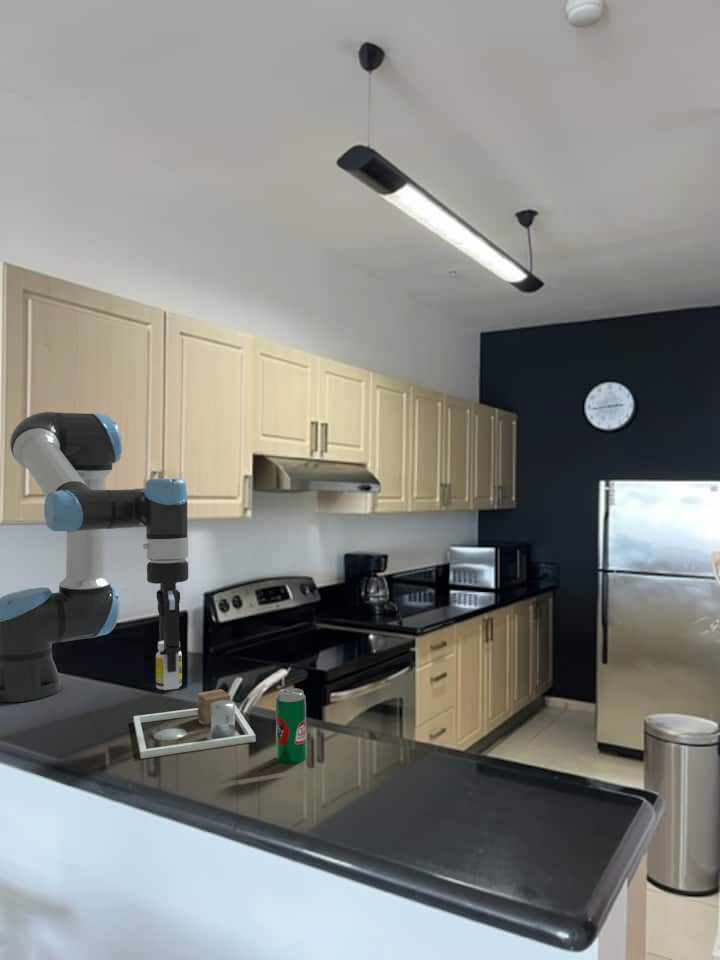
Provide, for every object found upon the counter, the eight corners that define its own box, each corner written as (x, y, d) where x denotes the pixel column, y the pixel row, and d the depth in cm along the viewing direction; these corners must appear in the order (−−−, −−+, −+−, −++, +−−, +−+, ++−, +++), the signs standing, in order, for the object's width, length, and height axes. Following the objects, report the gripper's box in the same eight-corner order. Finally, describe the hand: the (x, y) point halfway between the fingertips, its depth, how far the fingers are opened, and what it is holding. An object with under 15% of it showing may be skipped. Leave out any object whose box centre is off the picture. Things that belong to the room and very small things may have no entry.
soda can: (301, 768, 119) (300, 696, 118) (272, 766, 120) (271, 695, 120) (310, 757, 123) (309, 688, 123) (282, 755, 125) (281, 686, 124)
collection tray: (133, 725, 141) (133, 716, 141) (234, 712, 148) (234, 703, 148) (140, 762, 122) (140, 751, 122) (255, 745, 129) (255, 735, 129)
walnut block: (197, 718, 143) (197, 693, 142) (221, 713, 145) (221, 689, 145) (206, 725, 138) (205, 699, 138) (230, 720, 141) (230, 695, 141)
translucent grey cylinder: (209, 733, 134) (208, 701, 134) (232, 730, 135) (232, 698, 135) (213, 741, 129) (212, 708, 129) (237, 738, 131) (236, 705, 131)
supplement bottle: (176, 690, 131) (176, 644, 131) (151, 689, 131) (151, 644, 131) (185, 682, 136) (185, 638, 136) (161, 682, 136) (161, 638, 136)
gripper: (143, 557, 141) (145, 675, 141) (150, 566, 124) (153, 700, 124) (182, 555, 143) (184, 670, 143) (194, 564, 127) (196, 695, 127)
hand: (169, 684), depth 134 cm, fingers closed on supplement bottle, 5 cm apart
